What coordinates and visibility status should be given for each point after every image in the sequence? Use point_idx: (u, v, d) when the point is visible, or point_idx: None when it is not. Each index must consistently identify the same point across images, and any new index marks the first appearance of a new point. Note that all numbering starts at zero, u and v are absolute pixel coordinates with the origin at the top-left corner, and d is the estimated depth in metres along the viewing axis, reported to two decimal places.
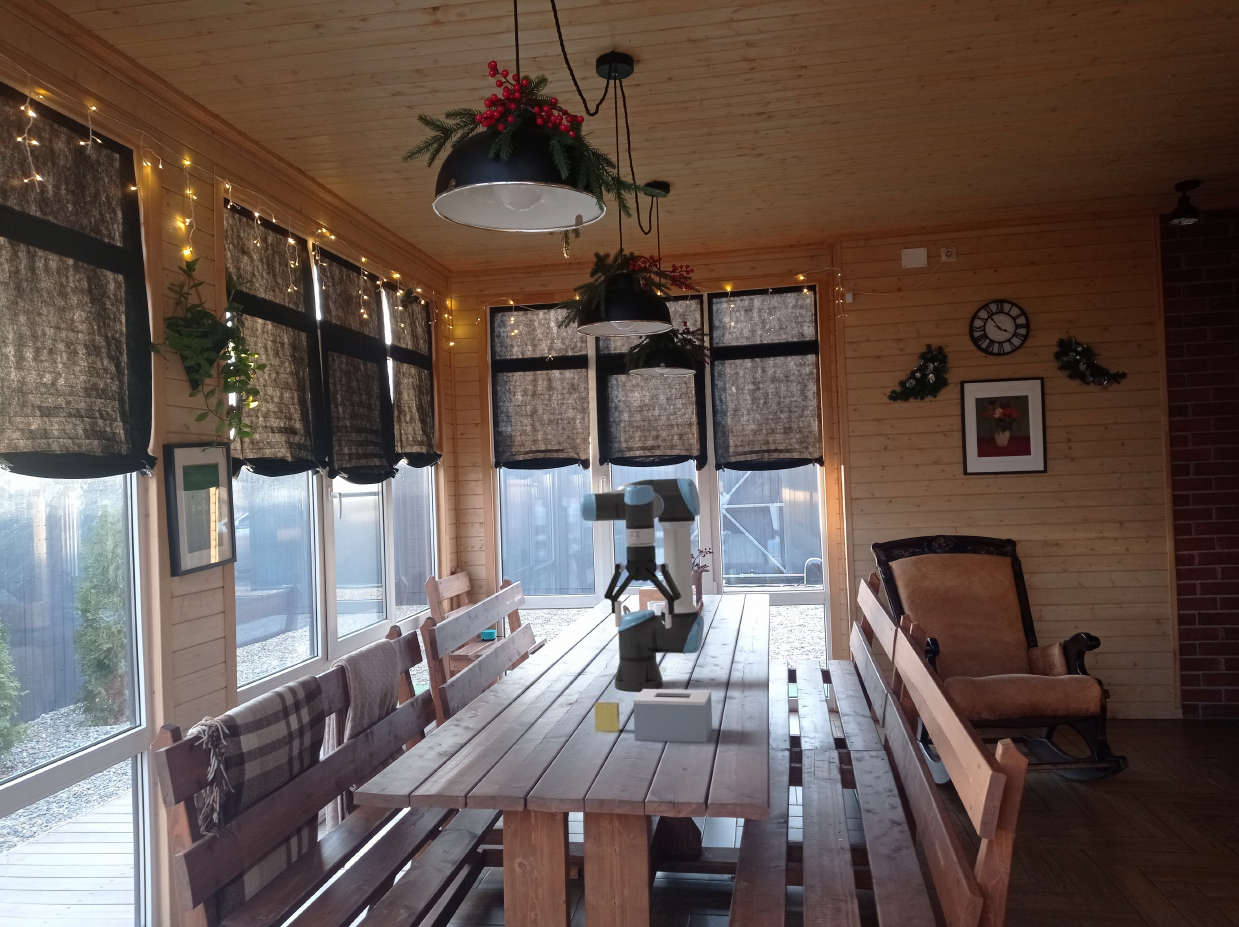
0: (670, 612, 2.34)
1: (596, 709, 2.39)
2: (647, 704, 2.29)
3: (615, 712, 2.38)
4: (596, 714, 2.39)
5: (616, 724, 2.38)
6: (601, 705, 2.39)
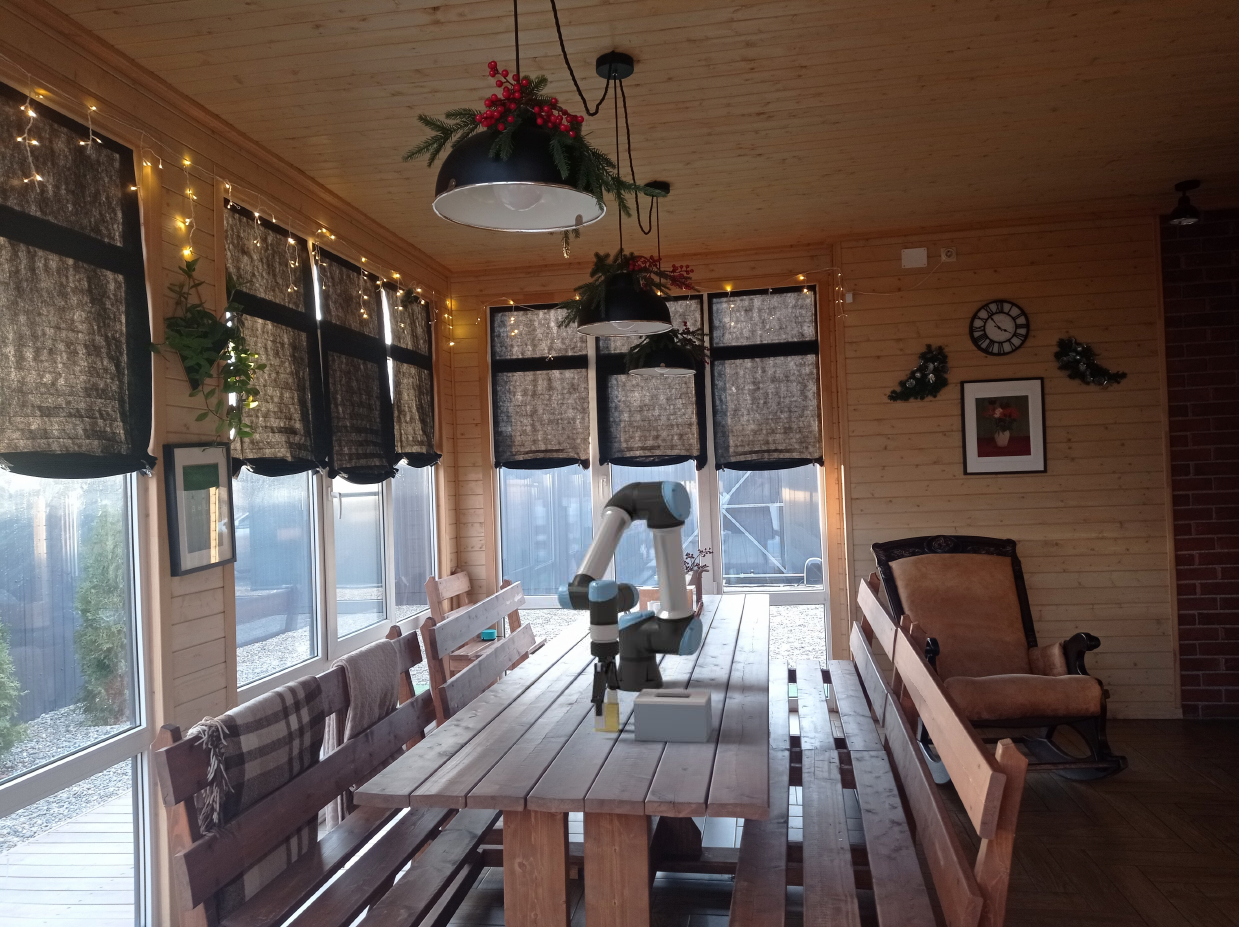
0: None
1: None
2: (647, 704, 2.29)
3: (615, 712, 2.38)
4: None
5: (616, 724, 2.38)
6: None
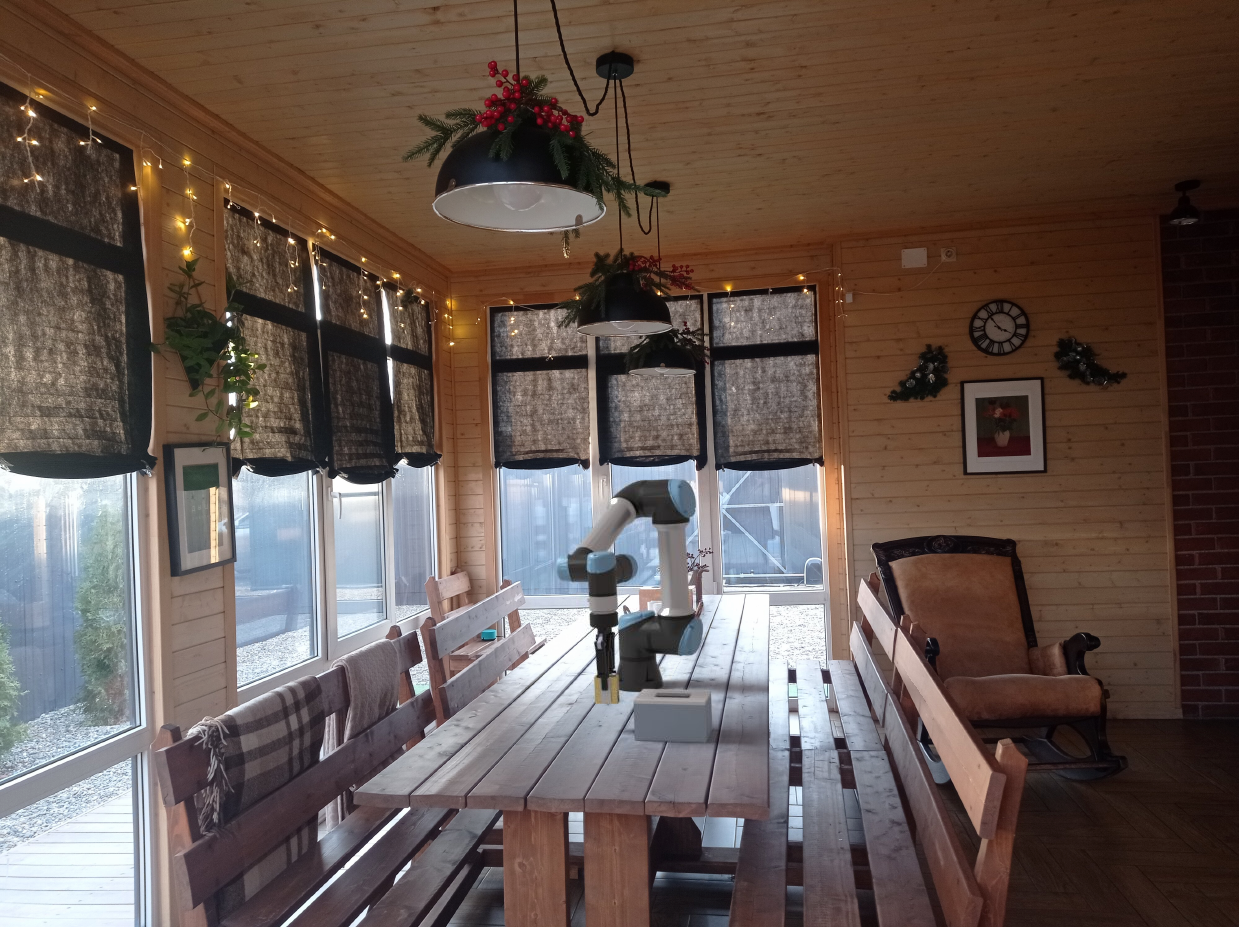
0: None
1: (596, 681, 2.40)
2: (647, 704, 2.29)
3: (615, 684, 2.39)
4: (596, 686, 2.40)
5: (616, 696, 2.39)
6: None
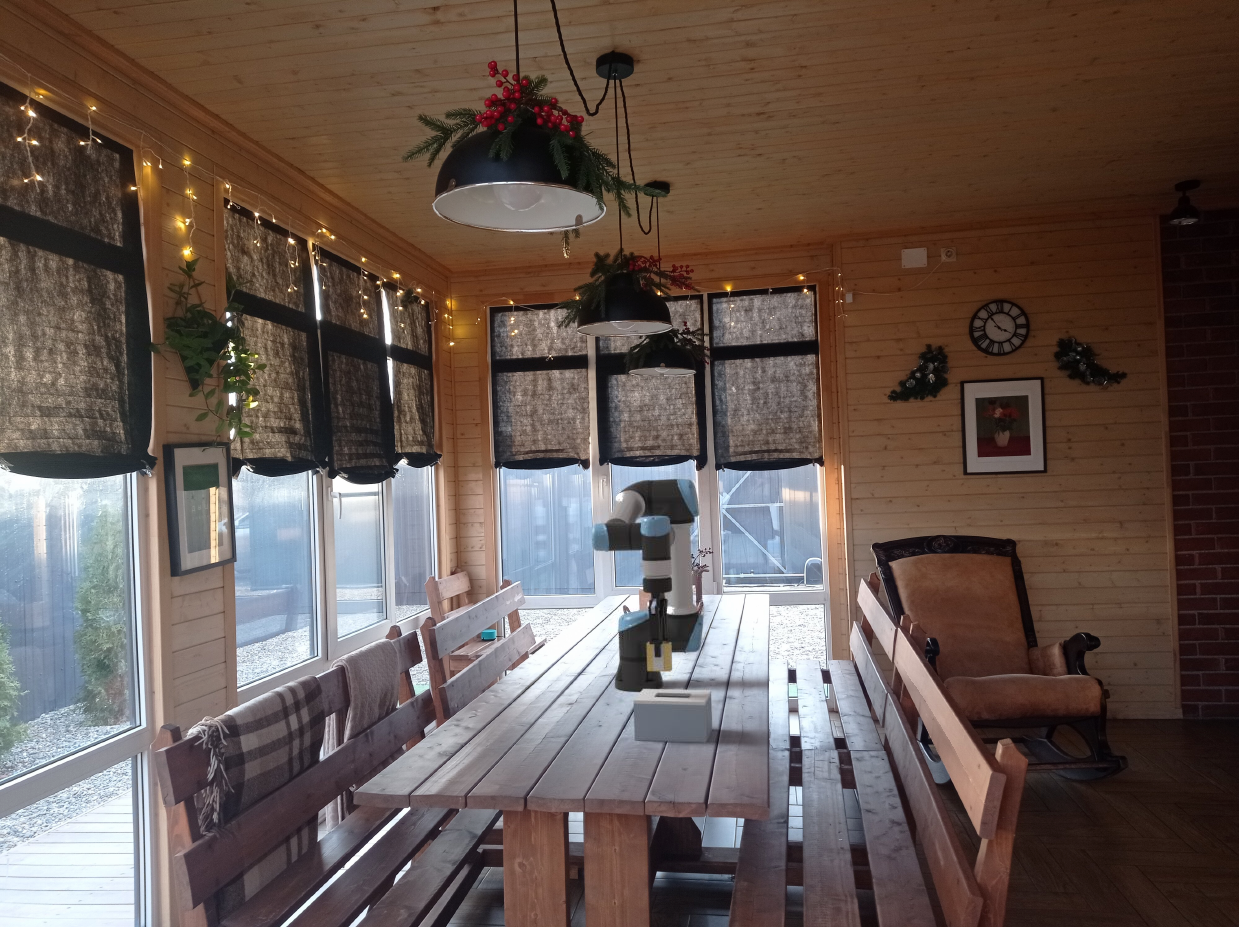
0: None
1: (648, 648, 2.34)
2: (647, 704, 2.29)
3: (668, 651, 2.33)
4: (648, 653, 2.34)
5: (669, 663, 2.33)
6: None
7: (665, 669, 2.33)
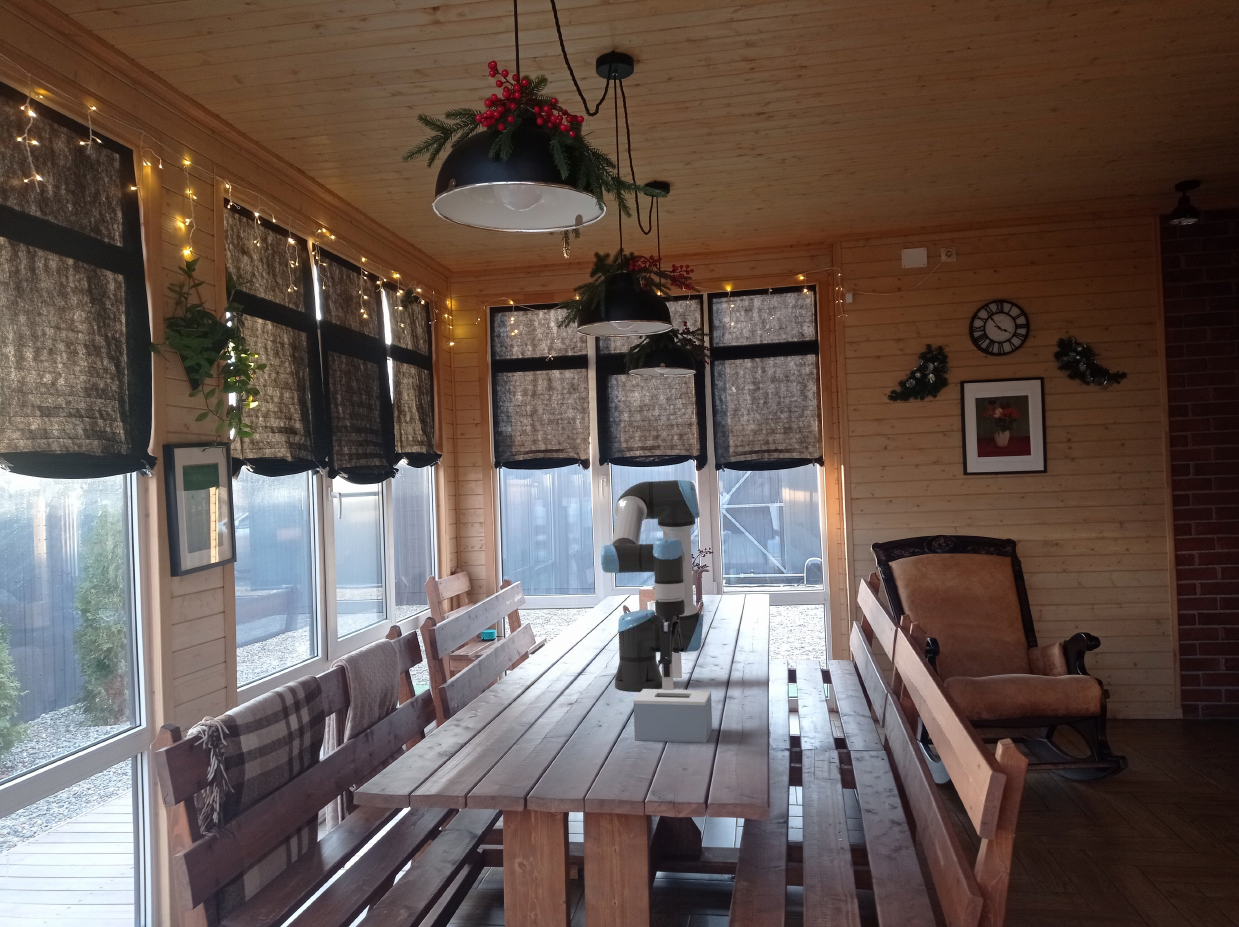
0: None
1: None
2: (647, 704, 2.29)
3: None
4: None
5: None
6: None
7: None
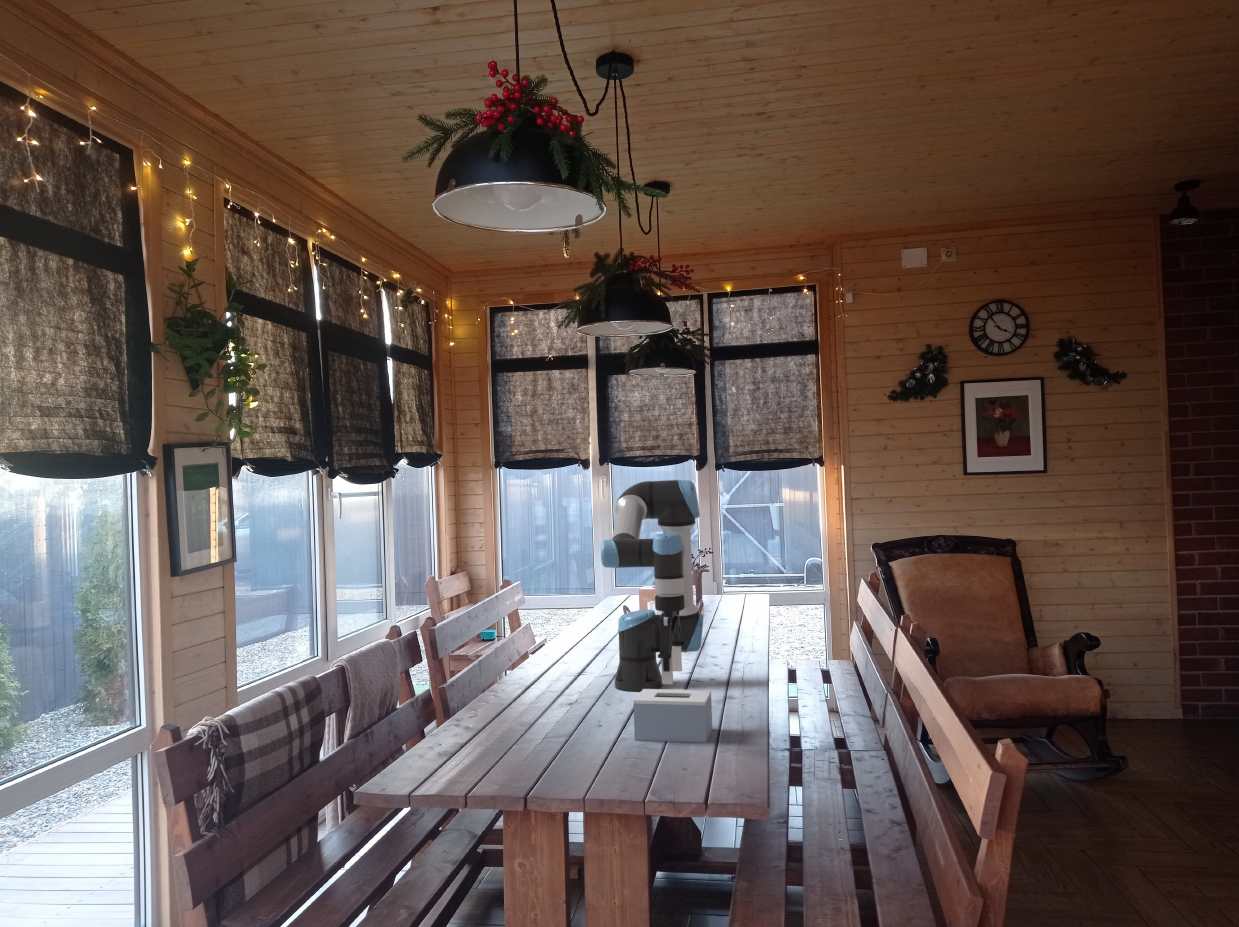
0: None
1: None
2: (647, 704, 2.29)
3: None
4: None
5: None
6: None
7: None
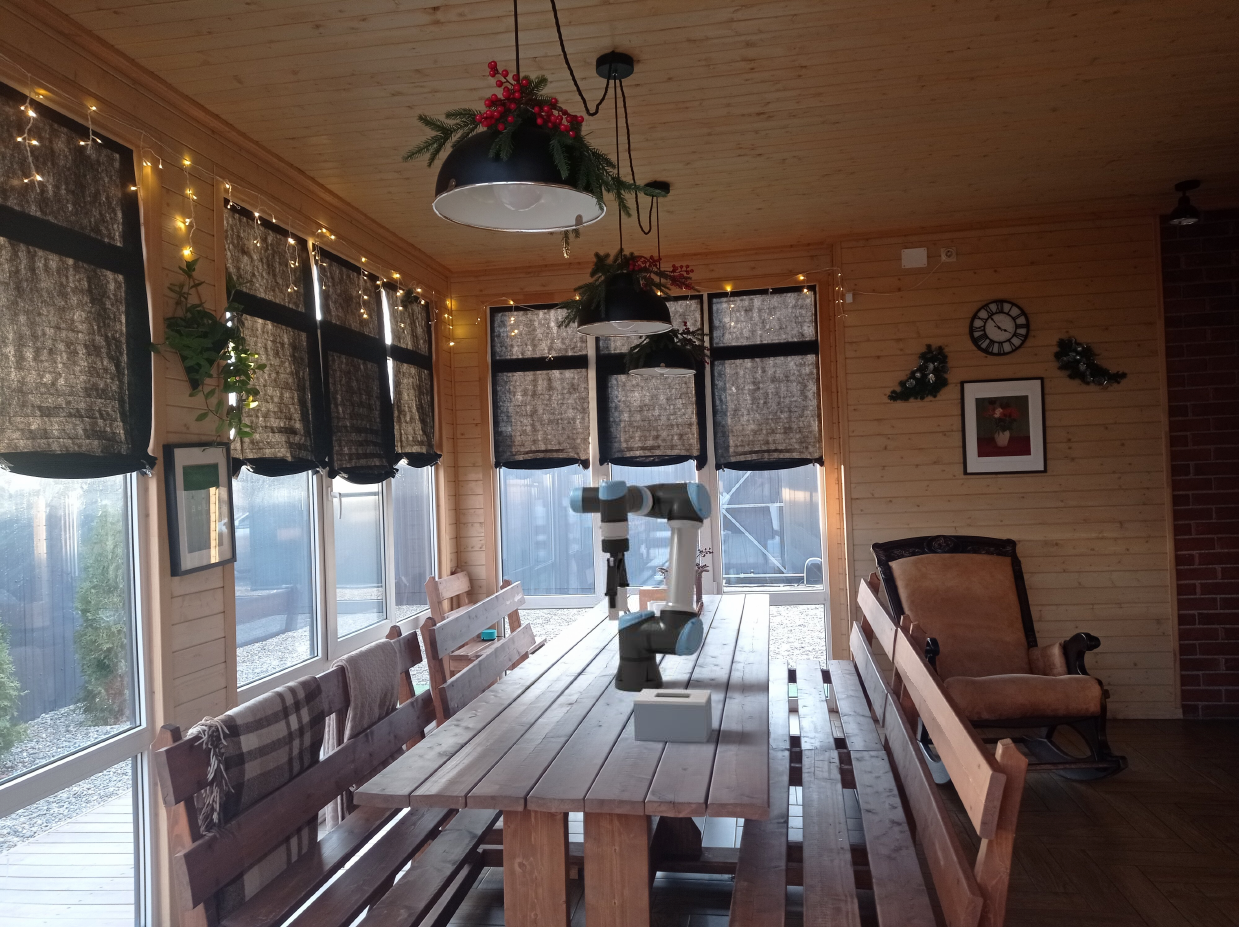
0: None
1: None
2: (647, 704, 2.29)
3: None
4: None
5: None
6: None
7: None
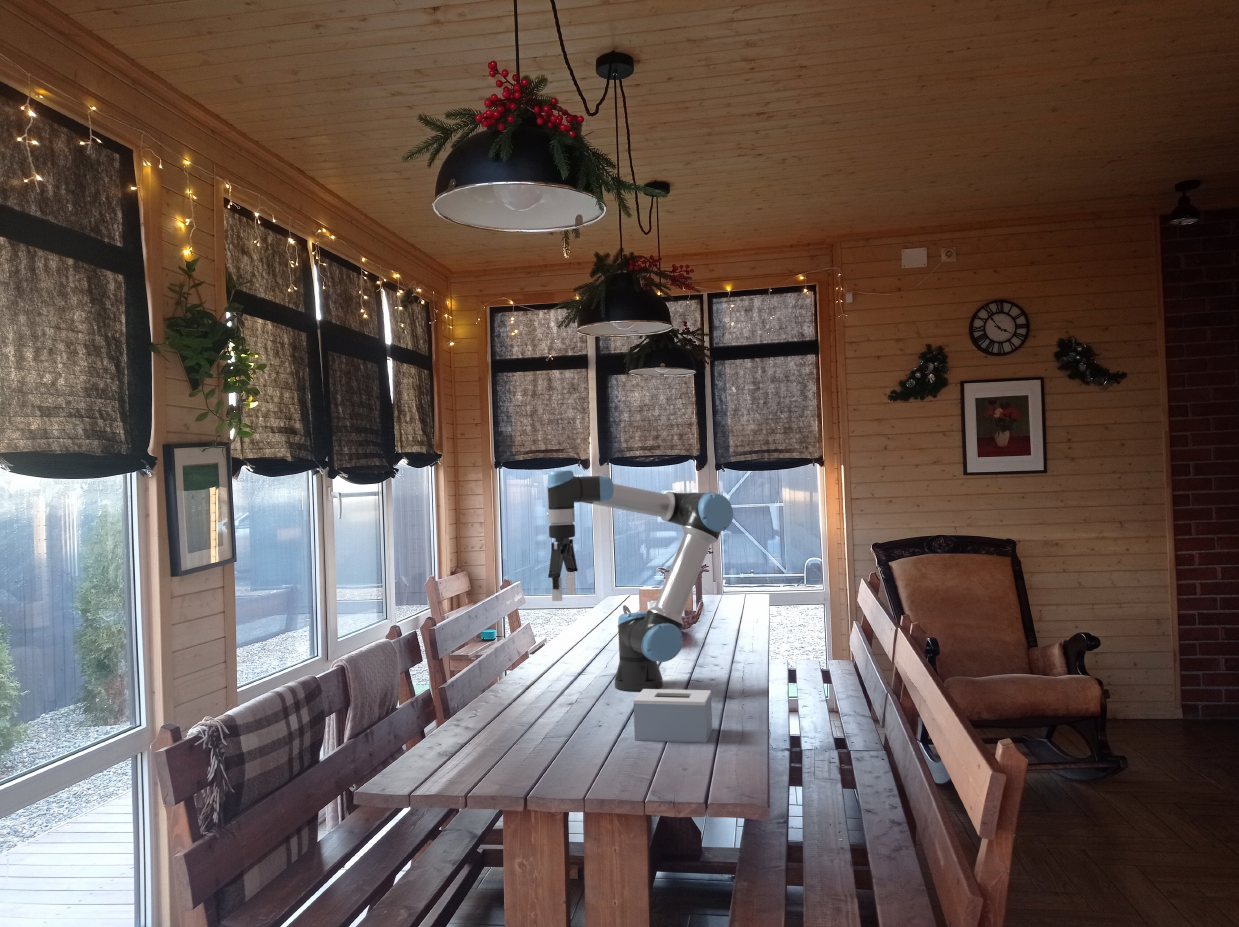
0: None
1: None
2: (647, 704, 2.29)
3: None
4: None
5: None
6: None
7: None
